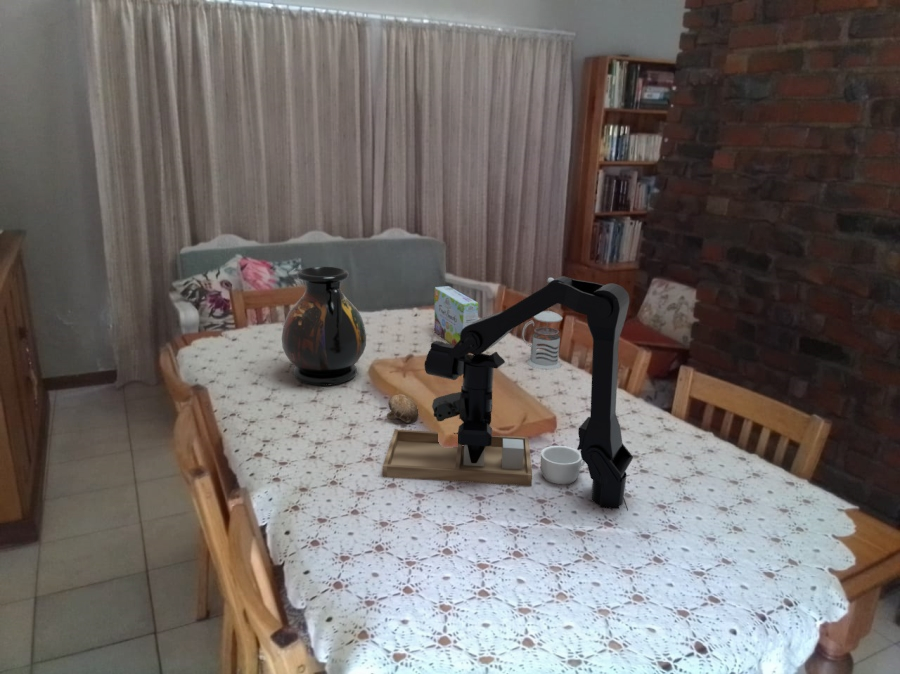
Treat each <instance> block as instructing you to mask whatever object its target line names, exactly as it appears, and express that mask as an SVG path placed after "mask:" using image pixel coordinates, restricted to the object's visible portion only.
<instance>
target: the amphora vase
mask: <svg viewBox="0 0 900 674" xmlns="http://www.w3.org/2000/svg"><path fill="white" fill-rule="evenodd" d="M349 275H350V274H349V271H348V270H346V269H344V268H340V267H334V266H333V267H332V266H312V267H311V266H310V267H306V268H302V269H299V270H298V271H297V273H296V277H297V278H298V279H299V280H301V281H304V285H305V291H304V293H303V295H302V296H301V297H300V298H299V300H297V301H296V302H295V304H294V305H293V306H292V307H291V308H290V310H289V311H288V313H287V315H286V317H285V321H284V324H283V328H282V334H281V344H282V349H283V352H284V355H285V356H286V358H287V359H288V360H289V361H290V363H292V364H293V365H294V368H293V370H292V371H293V376H294V378H295V379H296V380H298V381H300V382H302V383H305V384H307V385H314V386H333V385H338V384H339V385H340V384H342V383H346V382H347V381H349V380H351V379H353V378H354V377H355V376H356V374H357V372H358V370H357V365H356V363H358V361H359V360H360V358H361V357H362V355H363V354H364V352H365V349H366V347H367V333H366V328H365V323H364V320H363V318H362V315H361V314H360V311H359V310H358V309H357V307H356V306H355V305H354V304H353V303H352V302H351V301H350V300H349V299H348V298H347V297H346V296H345V294H344V293H343V291H342V289H341V284H342V281H344V280H346V279H348V277H350V276H349Z"/></svg>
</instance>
